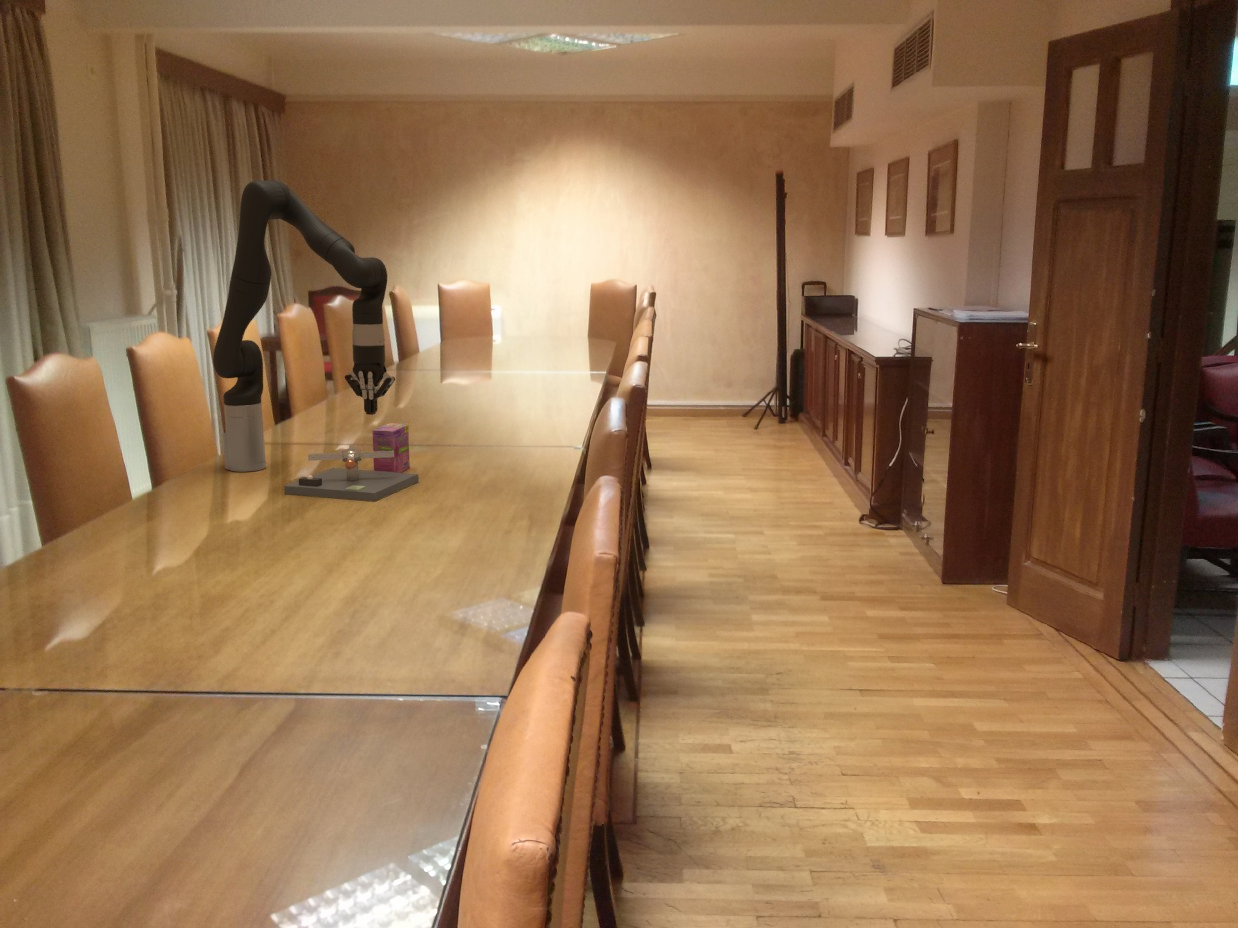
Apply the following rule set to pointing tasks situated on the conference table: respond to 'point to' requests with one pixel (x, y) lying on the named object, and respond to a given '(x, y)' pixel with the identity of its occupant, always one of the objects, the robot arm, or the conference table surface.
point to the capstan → (350, 456)
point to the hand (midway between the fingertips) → (371, 414)
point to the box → (392, 447)
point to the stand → (351, 484)
